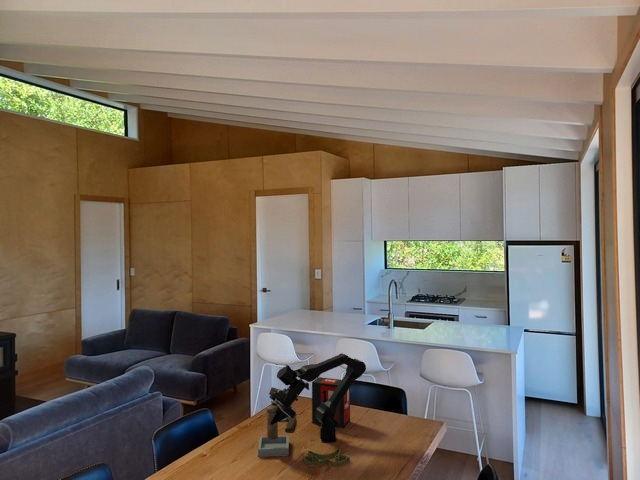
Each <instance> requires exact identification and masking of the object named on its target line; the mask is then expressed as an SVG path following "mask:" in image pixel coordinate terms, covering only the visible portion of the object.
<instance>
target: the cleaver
mask: <svg viewBox="0 0 640 480" xmlns="http://www.w3.org/2000/svg"><path fill="white" fill-rule="evenodd" d="M292 409H293V410H294V411H295V409H294V408H292ZM288 416H289V415H288ZM296 421H297V419H296V416H295V417H294V419H292V418H291V417H290V416H289V418H288V417H287V418H285V419H283V420H281V421H279V422H278V423H280V422H287V423H286V427H285V429H284V432H286V433H291V432H292V431H293V430H294V428H295V425H296Z"/></svg>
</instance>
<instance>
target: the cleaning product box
mask: <svg viewBox="0 0 640 480" xmlns="http://www.w3.org/2000/svg"><path fill="white" fill-rule="evenodd" d="M341 380H342V379H338V378H331V377H330V378H329V377H321V376H319V377H318V378H316V379H315V380H313V381H312V382H311V417H312V418H311V424H314V425H320V426H321V423H320V422H319V420H318V419H317V418H316V411H317V410H316V409H317V408H318V407H319V405H320V403H321V402H323V403H325V402H327V401H328V400H329V398H330V397H331V395H332V394H333V392H334V391H335V389H336V388H337V386H338V385H339V383H340V382H341ZM334 419H335V420H336V421H337V422H338V427H337V428H339V429H345V428H346V427H347V426H348V425H349V424H350V422H351V387H350V388H349V389H348V391H347V392H346V394H345V396H344V397H343V399H342V400H341V402H340V403H339V405H338V406H337V408H336V414H335V417H334Z"/></svg>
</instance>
